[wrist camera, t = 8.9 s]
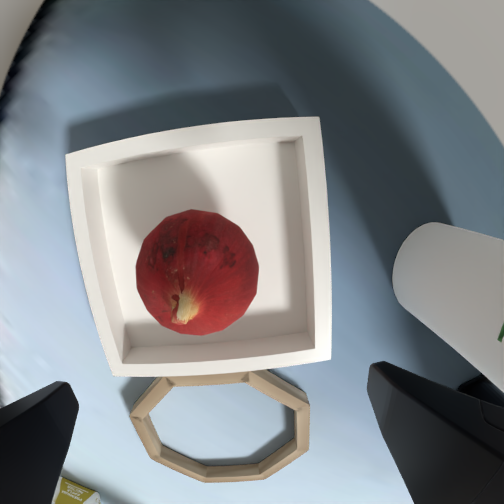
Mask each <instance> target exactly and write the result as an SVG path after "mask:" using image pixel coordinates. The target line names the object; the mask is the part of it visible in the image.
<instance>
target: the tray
mask: <svg viewBox="0 0 504 504" xmlns="http://www.w3.org/2000/svg"><path fill="white" fill-rule="evenodd" d="M65 157H66V171H67V182H68V192H69V201H70V208H71V216H72V222H73V229H74V235H75V240H76V246H77V251H78V256H79V261H80V266H81V270H82V275H83V279H84V283H85V287H86V291H87V295H88V299H89V303H90V307H91V310H92V314H93V317H94V321H95V324H96V327H97V331H98V334H99V337H100V340H101V343H102V346H103V349H104V352H105V355H106V358H107V361H108V363H109V366H110V369H111V371H112V374H113V376H124V377H164V376H192V375H210V374H224V373H235V372H246V371H255V370H264V369H272V368H280V367H287V366H294V365H301V364H307V363H313V362H319V361H325V360H330V359H331V324H332V298H331V254H330V231H329V214H328V199H327V186H326V174H325V164H324V154H323V144H322V135H321V127H320V119H319V117H288V118H270V119H255V120H244V121H233V122H224V123H215V124H207V125H200V126H193V127H186V128H180V129H174V130H168V131H162V132H157V133H151V134H146V135H141V136H136V137H132V138H127V139H123V140H118V141H114V142H110V143H106V144H102V145H98V146H94V147H90V148H87V149H83V150H80V151H76V152H73V153H69V154H66V155H65ZM190 209H194V210H201V211H207V212H214V213H218V214H220V215H222V216H223V217H225V218H227V219H228V220H230V221H232V222H233V223H235V224H237V225H238V226H240V228H241V229H242V230H243V232H244V233H245V235H246V236H247V237H248V239H249V240H250V242H251V243H252V244H253V247H254V250H255V254H256V257H257V260H258V264H259V275H258V285H257V294H256V296H255V297H254V299H253V301H252V302H251V304H250V306H249V307H248V309H247V311H246V312H245V314H244V315H243V316H242V317H241V318H239V319H238V320H236V321H235V322H234V323H232V324H231V325H230V326H228V327H227V328H225V329H224V330H222V331H218V332H215V333H211V334H207V335H203V336H199V335H187V334H180V333H177V332H175V331H173V330H170V329H168V328H166V327H163V326H161V325H160V324H159V322H158V321H157V320H156V319H155V318H154V317H153V316H152V315H151V314H150V313H149V312H148V311H147V309H146V307H145V305H144V303H143V301H142V299H141V297H140V295H139V293H138V291H137V287H136V269H135V266H136V261H137V258H138V255H139V252H140V249H141V246H142V243H143V240H144V239H145V237H146V236H147V235H148V234H149V233H150V232H151V231H152V230H153V229H154V228H155V227H156V226H157V225H158V224H159V223H160V222H161V221H162V220H163V219H164V218H165V217H168V216H171V215H174V214H177V213H180V212H183V211H186V210H190Z"/></svg>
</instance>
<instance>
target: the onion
mask: <svg viewBox="0 0 504 504" xmlns="http://www.w3.org/2000/svg"><path fill="white" fill-rule="evenodd" d="M135 269H136V287H137V291H138V293H139V295H140V297H141V299H142V301H143V303H144V305H145V307H146V309H147V311H148V312H149V313H150V314H151V315H152V316H153V317H154V318H155V319H156V320H157V321H158V322H159V324H160V325H161V326H163V327H166V328H168V329H170V330H173V331H175V332H177V333H180V334H187V335H199V336H203V335H207V334H211V333H215V332H218V331H222V330H224V329H225V328H227V327H228V326H230V325H231V324H232V323H234V322H235V321H236V320H238V319H239V318H241V317H242V316H243V315H244V314H245V312H246V311H247V309H248V307H249V306H250V304H251V302H252V301H253V299H254V297H255V296H256V294H257V285H258V275H259V264H258V260H257V257H256V254H255V250H254V247H253V244H252V243H251V242H250V240H249V239H248V237H247V236H246V235H245V233H244V232H243V230H242V229H241V228H240V226H238V225H237V224H235V223H233V222H232V221H230V220H228V219H227V218H225V217H223V216H222V215H220V214H218V213H214V212H207V211H201V210H194V209H190V210H186V211H183V212H180V213H177V214H174V215H171V216H168V217H165V218H164V219H163V220H162V221H161V222H160V223H159V224H158V225H157V226H156V227H155V228H154V229H153V230H152V231H151V232H150V233H149V234H148V235H147V236H146V237H145V239H144V240H143V243H142V246H141V249H140V252H139V255H138V258H137V261H136V266H135Z"/></svg>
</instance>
